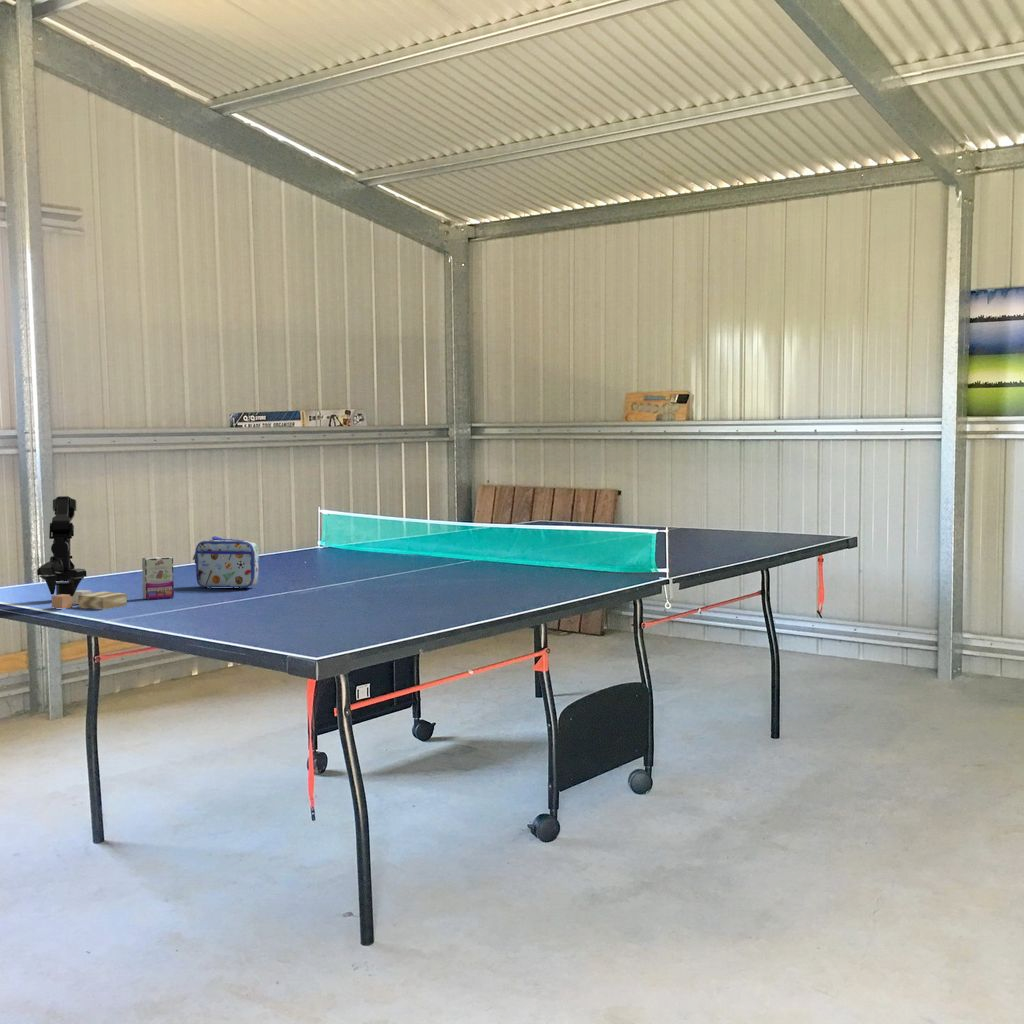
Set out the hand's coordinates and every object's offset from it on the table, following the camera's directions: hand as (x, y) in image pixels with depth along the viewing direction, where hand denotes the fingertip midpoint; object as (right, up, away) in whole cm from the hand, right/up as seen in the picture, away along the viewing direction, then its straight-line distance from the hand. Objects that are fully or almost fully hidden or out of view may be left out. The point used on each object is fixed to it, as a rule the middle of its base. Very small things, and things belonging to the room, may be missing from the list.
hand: (62, 595), depth 399 cm
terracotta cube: (0, -5, 0) cm, 5 cm away
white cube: (+3, -4, +12) cm, 13 cm away
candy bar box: (+26, -4, +28) cm, 39 cm away
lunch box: (+45, -2, +61) cm, 76 cm away
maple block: (+13, -5, +6) cm, 15 cm away
